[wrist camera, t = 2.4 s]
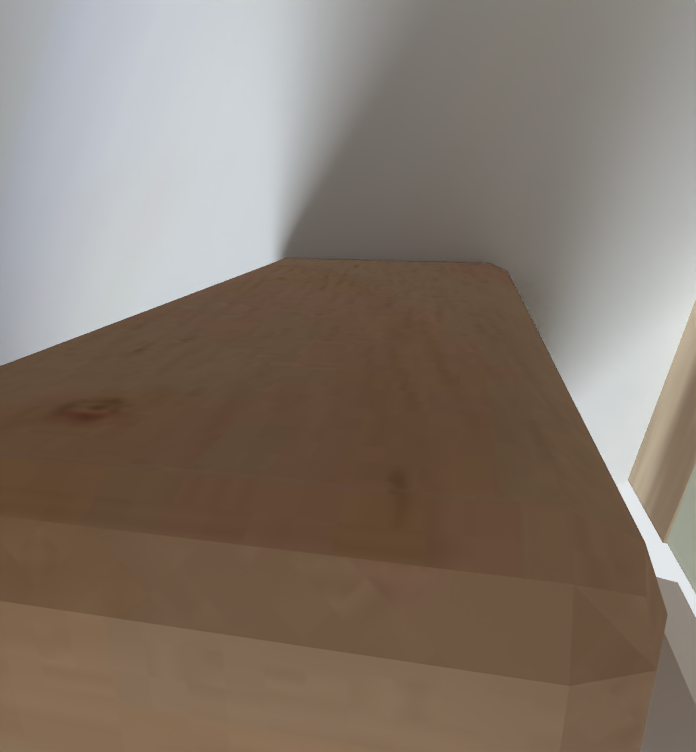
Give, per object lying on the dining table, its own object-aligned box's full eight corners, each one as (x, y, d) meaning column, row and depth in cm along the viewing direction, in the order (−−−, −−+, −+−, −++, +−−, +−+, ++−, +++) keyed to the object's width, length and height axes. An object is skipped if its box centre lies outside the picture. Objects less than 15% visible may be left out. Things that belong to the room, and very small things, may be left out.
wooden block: (269, 255, 24) (-366, 466, 6) (513, 260, 23) (739, 595, 4) (278, 468, 28) (-119, 1056, 9) (493, 487, 26) (568, 1281, 7)
